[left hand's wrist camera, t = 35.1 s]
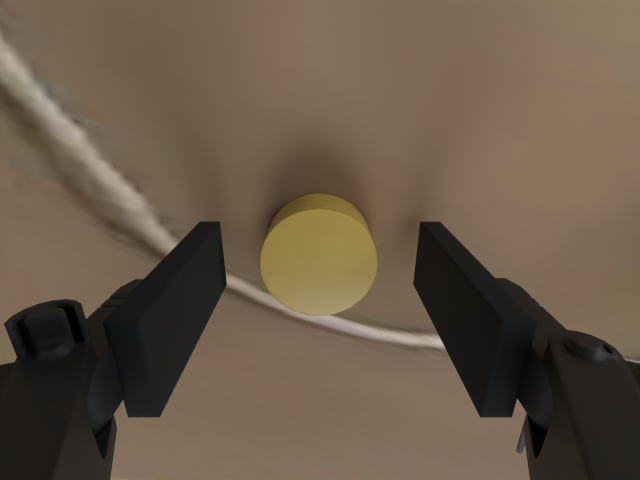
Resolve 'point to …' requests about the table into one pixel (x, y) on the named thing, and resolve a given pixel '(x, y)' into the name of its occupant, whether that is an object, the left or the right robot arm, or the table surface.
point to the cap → (318, 255)
